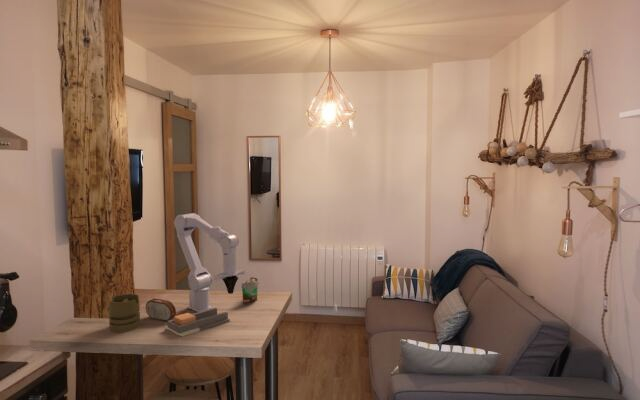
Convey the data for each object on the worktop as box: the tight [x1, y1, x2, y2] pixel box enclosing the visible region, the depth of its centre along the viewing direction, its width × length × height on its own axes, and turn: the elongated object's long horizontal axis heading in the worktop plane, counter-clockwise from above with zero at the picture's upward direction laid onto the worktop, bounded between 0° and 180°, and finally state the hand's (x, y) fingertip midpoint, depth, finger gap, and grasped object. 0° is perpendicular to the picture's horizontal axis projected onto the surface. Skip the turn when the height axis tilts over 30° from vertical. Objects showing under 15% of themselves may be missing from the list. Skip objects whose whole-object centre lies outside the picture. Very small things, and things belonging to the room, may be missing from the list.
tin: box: [145, 297, 177, 322], centre depth 180 cm, size 15×3×8 cm, turn 65°
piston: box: [108, 293, 141, 333], centre depth 171 cm, size 11×12×11 cm
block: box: [173, 312, 196, 325], centre depth 169 cm, size 6×6×4 cm
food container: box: [241, 276, 260, 304], centre depth 204 cm, size 12×6×10 cm, turn 168°
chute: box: [165, 307, 230, 337], centre depth 174 cm, size 12×22×4 cm, turn 136°
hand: (230, 293), depth 186 cm, fingers closed
